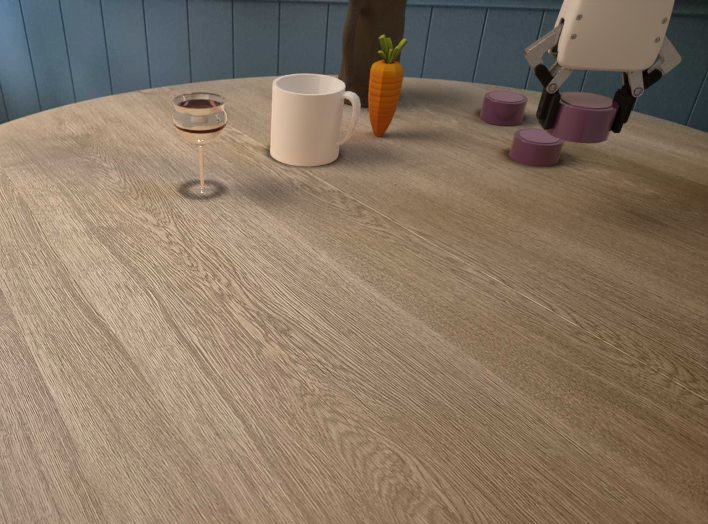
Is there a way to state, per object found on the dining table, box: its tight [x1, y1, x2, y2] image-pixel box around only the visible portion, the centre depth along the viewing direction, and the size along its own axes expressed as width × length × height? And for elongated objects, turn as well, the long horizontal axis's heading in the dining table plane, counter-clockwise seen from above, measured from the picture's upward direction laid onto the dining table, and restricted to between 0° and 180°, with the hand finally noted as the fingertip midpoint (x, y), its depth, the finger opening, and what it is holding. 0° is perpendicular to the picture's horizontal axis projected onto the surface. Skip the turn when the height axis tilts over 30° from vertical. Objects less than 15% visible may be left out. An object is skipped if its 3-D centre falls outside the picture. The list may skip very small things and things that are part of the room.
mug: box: [269, 73, 362, 167], centre depth 93 cm, size 13×10×10 cm
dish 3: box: [546, 91, 620, 144], centre depth 75 cm, size 7×7×4 cm
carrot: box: [368, 35, 409, 138], centre depth 98 cm, size 5×5×15 cm
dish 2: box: [508, 127, 565, 167], centre depth 95 cm, size 7×7×4 cm
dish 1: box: [479, 90, 529, 127], centre depth 109 cm, size 7×7×4 cm
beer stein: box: [337, 0, 408, 108], centre depth 111 cm, size 15×11×20 cm
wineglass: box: [171, 91, 229, 194], centre depth 83 cm, size 7×7×12 cm
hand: (578, 126), depth 75 cm, fingers closed on dish 3, 6 cm apart
